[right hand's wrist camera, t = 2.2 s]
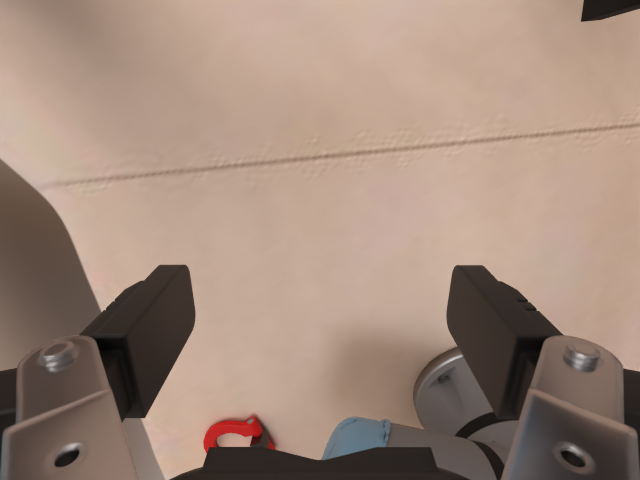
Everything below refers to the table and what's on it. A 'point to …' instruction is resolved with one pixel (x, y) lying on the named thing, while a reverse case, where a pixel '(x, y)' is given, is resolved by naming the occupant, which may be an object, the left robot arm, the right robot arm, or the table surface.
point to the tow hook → (240, 428)
